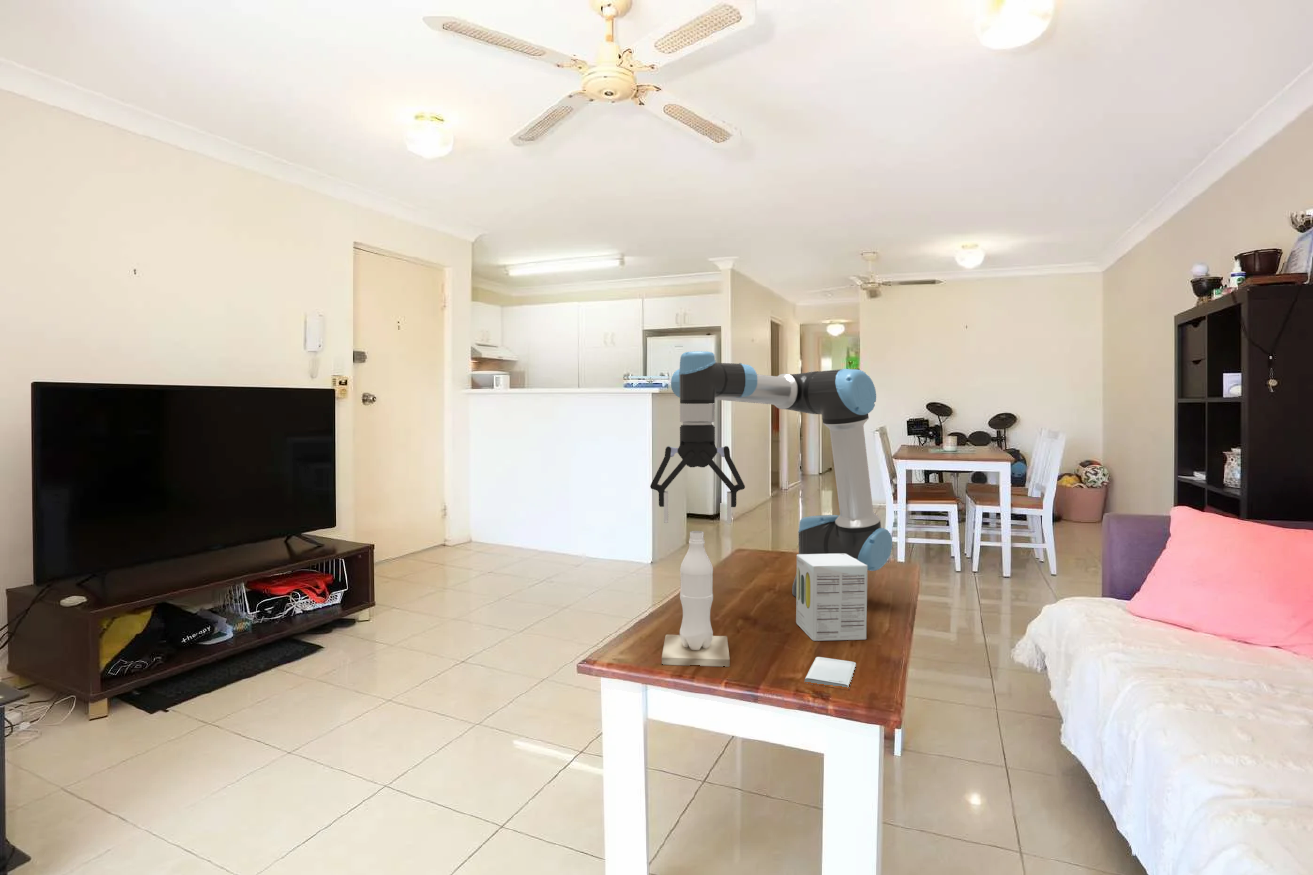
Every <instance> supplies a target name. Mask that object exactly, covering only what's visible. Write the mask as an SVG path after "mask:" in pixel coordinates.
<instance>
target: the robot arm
mask: <svg viewBox="0 0 1313 875" xmlns="http://www.w3.org/2000/svg"><path fill="white" fill-rule="evenodd" d="M715 358H716V356H715V354H714V352H712V351H707V350H706V351H705V350H704V351H703V350H701V351H700V350H697V351H695V350H694V351H686V352H683V353H682V354H681V355H680V359H679V368H678V369H677V370H675V371H673V372H674V373H673V374H672V376H671V379H670V388H671V391H672V392H673V394H674V395H675V396H676V397H677V398H679V422H681V423H682V424H681V425H680V426H679V446H678V447H674V446H671V445H668V446H666V447H665V451H664V457H663V459H662V461H661V463H660V465H659V468H658V469H657V472H656V473H655V476H654V477H653V479H652V482H651V483H650V489H651V490H655V491H657V492H658V506H659V507H661V508H663V523H664V524H667V523H669V491H668V490H666V489H667V488H668V487H669V486H670V484H671V483H672V482H673V481H674V480H675V479H676V477H677V476H678V475H679V474H680V472H682V470H683V469H684V468H685V466H687V467H689V468H696V467H698V468H705V467H708V466H709V467H710V468H711V470H713V472H714V473H715V474H716V475H717V476H718V477H719V479H720V480H721V481H722V482H723V484H725V485H726V487H727V488H728V491H726V523H727V524H732V508H736V506H737V493H738V492H739V491H742V490H744V489H745V488H746V485H745V483H744V482H743V479H742V478H741V475H740V473H739V471H738V469H737V468H736V465H735V463H734V461H733V459H732V457H731V452H730V448H729V446H728V445H724V446H722V447H717V446H716V435H715V434H716V429H715V428H716V427H715V425H714V424H713V423H714V422H715V421H716V411H715V410H716V405H715V403H716V401H727V402H728V401H729V402H739V403H740V402H741V403H751V404H763V405H773V406H775V408H777V409H779V410H788V411H793V412H799V413H805V414H809V415H821V419H822V424H823V425H824V426H825V427H826V428H827V429H829V434H830V443H831V444H830V445H831V452H832V459H833V466H834V475H835V484H836V491H837V501H838V509H839V514H838V515H837V514H826V515H825V514H824V515H811V516H805V517H802V518H801V519H800V520H799V524H798V525H799V526H798V527H799V528H798V533H797V534H798V554H847V555H849V556H851V557H853V558H855V559H857V560H858V561H860V562H862V563H864V564H866V565H867V571H871V572H874V571H879V570H880V569H883V567H884V565H886V564H887V562H888V560H889V558H890V556H891V553H892V548H893V536H892V534H891V532H890V531H889V530H888V529H886V528H884V527H882V523H881V517H880V516H879V515H878V514H876V513H875V512H874V506H873V498H872V490H871V489H872V488H871V480H870V471H869V464H868V463H869V462H868V454H867V444H866V437H865V429H864V425H865V423H866V422H867V421H868V420H869V414H870V413H871V412H872V411H873V410H874V408H875V406H876V405H875V403H876V402H877V391H876V387H875V384H874V381H873V380H872V379H871V377H870V375H869V374H867V373H866V372H865V371H863V370H861V369H855V368H854V369H853V368H852V369H851V368H840V369H832V370H819V371H817V370H816V371H810V372H809V371H808V372H800V373H793V374H792V373H790V374H789V373H780V374H779V375H777V376H776V375H768V374H767V375H766V374H759V373H757V372H756V370H755V367H753V366H751V365H750V364H743V363H741V362H739V363H731V362H727V363H726V362H717V361H716V359H715ZM675 454H678V456H679V457H680V458H681V461H680V462H679V463H678V464H677V466H676V467H675V468H674V469H673V470H672V472H671V473H669V475H668V476H667V477H666V478H665V480H664V481H663V482H662V483H661V484H659V482H660V481H661V478H662V476H663V474H664V472H665V471H666V469H667V466H668V464H669V462H670V459H671V458H673V457H674V456H675ZM717 454H720V457H722V458H724V459H725V462H726V464H727V466H728V467H729V470H730V472H731V474H732V476H733V478H734V480H735V482H736V484H734V483H733V482H732V481H731V479H729V478H728V476H727V475H726V474H725V473H724V472H723V470H722V469H721V468H720V467H719V466H718V464H716V462H715V461H714V460H713V459H714V458H715V456H716V455H717ZM729 490H730V491H729ZM796 584H797V573H796V574H795V576H794V580H793V583H792V588H791V589H792V591H791V592H792V596H794V597H795V598H796Z"/></svg>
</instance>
